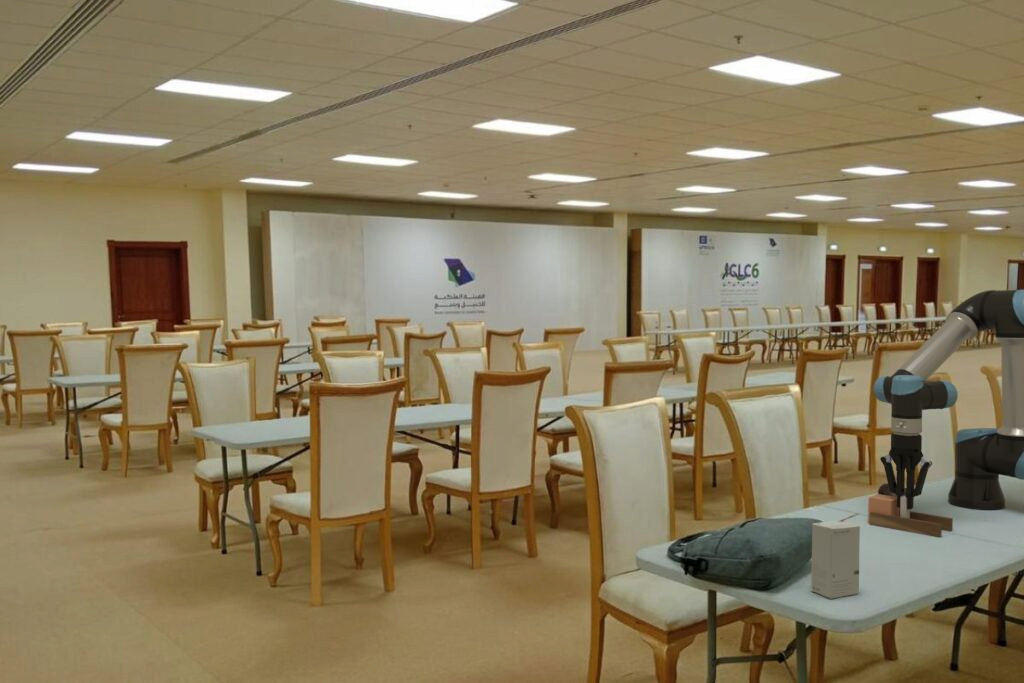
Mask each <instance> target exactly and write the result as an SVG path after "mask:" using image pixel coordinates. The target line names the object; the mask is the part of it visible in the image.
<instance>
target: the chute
mask: <svg viewBox="0 0 1024 683" xmlns="http://www.w3.org/2000/svg"><path fill="white" fill-rule="evenodd" d="M858 515H859V513H854V514H852V515H850V516H847V517H846V518H843V519H840V520H839V521H844V522H845V521H847V520H848V519H851V518H853V517H856V516H858ZM953 520H954V519H953V517H947V516H941V515H935V514H930V513H923V512H917V511H911V510H910V518H904V517H900V514H899V517H898V516H893V515H887V514H881V513H875V512H870V523H869V526H874V527H880V528H885V529H890V530H896V531H901V532H906V533H910V534H911V533H912V534H917V535H923V536H928V537H935V538H940V539H941V537H942V531H945V532H953V530H954V529H953V528H954V527H953V523H954V521H953Z"/></svg>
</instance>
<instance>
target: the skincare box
mask: <svg viewBox="0 0 1024 683" xmlns="http://www.w3.org/2000/svg"><path fill="white" fill-rule="evenodd" d="M811 527H812V528H811V577H810V578H811V583H810V584H811V592H813V593H816V594H819V595H820V596H823V597H825V598H826V599H830V600H832V599H833V600H834V599H837V598H841V597H842V598H843V597H848V596H853V595H859V593H860V591H859V590H860V540H861V539H860V536H861V535H860V533H861V530H860V528H861V526H860V525H858V524H855V523H851V522H847V521H845V520H844V521H840V520H833V521H829V520H828V521H821V522H813V523H812V524H811Z"/></svg>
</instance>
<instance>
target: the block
mask: <svg viewBox="0 0 1024 683" xmlns="http://www.w3.org/2000/svg"><path fill="white" fill-rule="evenodd" d="M867 509H868V514H867V517H868V519H867V520H868V521H867V523H868V524H870V512H875V513H881V514H887V515H893V516H898V517H899V514H900V508H898V507H897V497H894V496H887V495H881V494H878V493H876V494H874V495H871V496H869V497H868V508H867Z"/></svg>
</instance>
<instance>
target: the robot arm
mask: <svg viewBox="0 0 1024 683" xmlns="http://www.w3.org/2000/svg"><path fill="white" fill-rule="evenodd" d="M984 331H994V337H995V339H996V340H997V341H998V342H999V343H1000V344H1001V349H1000V350H1001V356H1000V357H1001V408H1002V409H1001V416H1002V417H1001V420H1002V422H1001V423H1002V424H1001V427H999V428H995V427H992V428H991V427H985V428H983V427H981V428H980V427H979V428H978V427H977V428H975V427H974V428H964V429H959V430H958V431H957V432H956V435H955V436H956V437H955V442H954V446H955V449H954V450H955V451H954V452H955V453H954V454H955V457H954V463H955V464H954V466H955V467H954V470H955V471H954V478H953V482H952V484H951V487H950V489H949V492H948V495H947V497H948V498H947V499H948V500H947V502H948V503H949V502H950V503H949V504H950V505H953V504H954V506H957V507H962V508H967V509H973V510H986V511H987V510H991V511H992V510H1001V509H1004V508H1005V506H1006V500H1005V499H1006V498H1005V497H1004V496H1005V495H1004V493H1003V490H1002V489H1003V488H1002V487H1001V484H1000V481H999V480H1000V479H999V478H1000V477H999V476H1005V477H1010V478H1014V479H1018V480H1023V481H1024V289H1009V290H1008V289H1006V290H997V289H996V290H994V289H993V290H992V289H991V290H984V291H980V292H979V293H976V294H974V295H972V296H971V297H968V298H967V299H965V300H964V301H962V302H961V303H960V304H958V305H957V306H956V307H955V308H953V310H951V311H950V313H948V314H947V316H946V317H945V322H944V323H943V324H942V325H941V326H940V327H939V328H938V329H937V330H936V331H935V332H933V334H932V335H931V336H930V337H929V338H928V339H927V340H926V341H925V342H924V343H923V344H922V345H921V346H920V347H919V348H918V349H917V350H916V351H915V352H914V353H913V354H912V355H911V356H910V357H908V359H907V360H906V361H905V362H904V363H903V364H902V365H901V366H900V367H899V368H898V369H897V370H896V371H895V372H894V373H893V374H892V375H891V376H888V375H885V376H881V377H878V378H877V379H876V381H875V382H874V385H873V395H874V396H875V398H876V399H877V400H878V401H879V402H881V403H886V404H889V405H890V406H891V413H890V414H891V415H890V416H891V418H890V419H891V420H890V425H891V426H890V431H891V434H890V450H889V451H888V454H886V455H884V456H880V462H881V463H882V465H883V466H884V467H883V468H884V472H885V476H886V480H887V481H886V482H887V484H888V486H889V490H890V492H891V493H894V494H896V495H897V507H898V508H900V517H904V518H910V511H911V510H912V509H914V501H915V500H914V498H915V497H918V496H921V495H922V493H923V490H924V489H923V488H924V486H925V483H926V482H925V481H926V479H927V475H928V472H929V469H930V468H931V466H932V465H933V462H932V461H931V460H927V459H926V458H924V454H923V451H922V446H923V445H922V444H923V443H922V442H923V441H922V439H923V436H922V435H921V433H922V432H923V411H926V410H943V409H949V408H951V407H953V406H954V405H955V404H956V403H957V401H958V390H957V389H958V388H956V385H954V384H953V383H952V382H950V381H947V380H936V381H933V380H928V379H929V378H930V377H931V376H932V375H933V374H934V373H935V372H936V371H937V370H938V369H939V368H941V367H942V365H943V364H944V363H945V362H946V361H947V360H948V359H949V358H950V357H951V356H952V355H953V354H954V353H955V352H956V351H957V350H958V349H959V348H960V347H961V346H962V345H963V344H964V343H965V342H966V341H967V340H970V339H974V338H975V337H976V336H977V335H978V334H980V333H981V332H984ZM892 461H893V463H894V464H895V471H896V475H895V471H894V466H893V463H892ZM919 464H920V469H919V472H918V475H917V479H916V483H915V476H916V474H915V472H916V467H917V466H918V465H919ZM905 472H906V473H905ZM905 475H906V477H905ZM905 479H906V481H905ZM905 482H906V486H905ZM904 488H906V495H904V494H905V493H904Z"/></svg>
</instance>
